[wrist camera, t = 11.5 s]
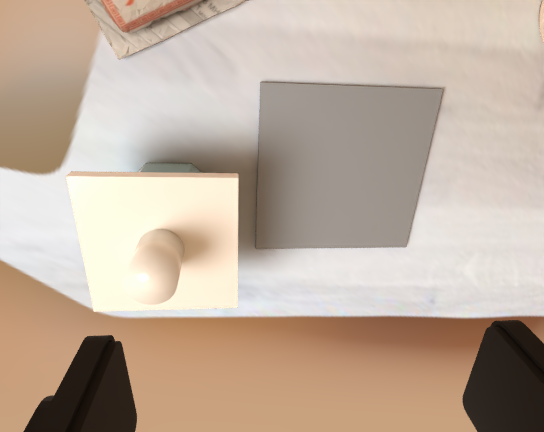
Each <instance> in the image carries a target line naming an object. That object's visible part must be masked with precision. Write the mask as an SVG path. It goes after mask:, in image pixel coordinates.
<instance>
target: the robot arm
mask: <svg viewBox="0 0 544 432" xmlns="http://www.w3.org/2000/svg"><path fill="white" fill-rule="evenodd" d="M463 406H464V409H465V411H466V413H467V415H468V416H469V418H470V420H471V421H472V423H473V425H474V426H475V428H476V430H477V431H478V432H544V344H543V343H542V341H540V339H539V338H538V337H537V336H536V335H535V334H533V332H532V331H531V330H530V329H529V328H528V327H527V326H526V325H525V324H524V323H522V322H521V321H518V320H508V321H494V322H493V323H492V325H491V326H490V327H489V328H487V329H486V331H485V334H484V337H483V340H482V342H481V345H480V348H479V351H478V354H477V357H476V360H475V363H474V366H473V368H472V371H471V374H470V377H469V380H468V383H467V386H466V389H465V392H464V394H463ZM136 423H137V413H136V409H135V404H134V399H133V394H132V390H131V385H130V380H129V375H128V371H127V366H126V361H125V357H124V352H123V347H122V344H121V342H120V341H115V340H114V337H113V336H112V335H108V336H87V337H86V338H85V339H84V340H83V342H82V344H81V346H80V348H79V350H78V352H77V354H76V355H75V357H74V359H73V361H72V363H71V365H70V367H69V369H68V371H67V373H66V374H65V377H64V378H63V380H62V382H61V384H60V386H59V388H58V390H57V392H56V393H55V395H54V396H48V397H46V398H44V399H43V400H42V401H41V403H40V404H39V405H38V407H37V409H36V410H35V412H34V414H33V416H32V418H31V419H30V421H29V423H28V425H27V426H26V428H25V430H24V432H135V429H136Z"/></svg>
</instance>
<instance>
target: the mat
mask: <svg viewBox="0 0 544 432" xmlns="http://www.w3.org/2000/svg"><path fill="white" fill-rule="evenodd" d="M442 93H443V89H435V88H409V87H382V86H356V85H329V84H302V83H276V82H260V114H259V146H258V179H257V212H256V245H255V247H256V249H285V248H376V247H406V246H407V241H408V237H409V233H410V229H411V224H412V220H413V216H414V212H415V207H416V203H417V199H418V195H419V190H420V186H421V182H422V178H423V173H424V169H425V165H426V161H427V156H428V152H429V148H430V144H431V139H432V135H433V131H434V127H435V122H436V118H437V114H438V110H439V105H440V101H441V97H442Z"/></svg>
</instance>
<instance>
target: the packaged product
mask: <svg viewBox="0 0 544 432" xmlns="http://www.w3.org/2000/svg"><path fill="white" fill-rule="evenodd" d="M245 1H248V0H85V2H86V3H87V5H88V6H89V9H90V10H91V12H92V14H93V16H94V18H95V19H96V21H97V23H98V25H99V26H100V28H101V30H102V32H103V33H104V35H105V37H106V39H107V40H108V42H109V44H110V45H111V47H112V48H113V50H114V52H115V54H116V56H117V58H118V59H122V58H124V57H126V56H129V55H131V54H133V53H135V52H138V51H140V50H142V49H145V48H147V47H149V46H152V45H154V44H156V43H159V42H161V41H163V40H166V39H168V38H170V37H171V36H173V35H175V34H177V33H179V32H181V31H183V30H185V29H187V28H189V27H191V26H193V25H195V24H197V23H199V22H201V21H203V20H205V19H208V18H210V17H212V16H214V15H216V14H219V13H221V12H223V11H226V10H228V9H230V8H233V7H235V6H237V5H239V4H241V3H243V2H245Z"/></svg>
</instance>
